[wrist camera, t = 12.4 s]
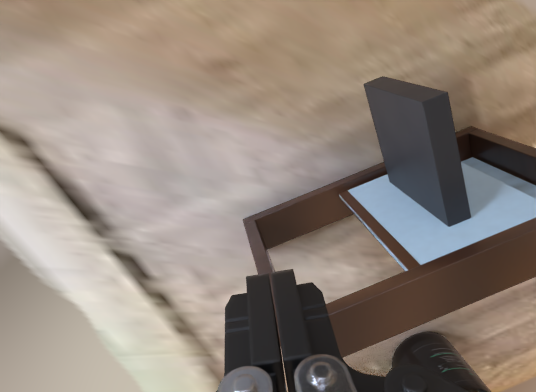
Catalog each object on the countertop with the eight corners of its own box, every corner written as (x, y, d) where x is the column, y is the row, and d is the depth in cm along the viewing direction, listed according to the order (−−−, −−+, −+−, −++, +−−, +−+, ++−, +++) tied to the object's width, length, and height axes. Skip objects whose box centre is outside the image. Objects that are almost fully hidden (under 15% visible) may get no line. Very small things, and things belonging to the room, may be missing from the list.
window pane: (340, 199, 38) (412, 279, 26) (308, 100, 34) (374, 139, 22) (442, 157, 38) (561, 217, 26) (421, 55, 35) (547, 69, 23)
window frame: (255, 248, 40) (294, 378, 25) (242, 219, 39) (276, 337, 24) (477, 158, 40) (643, 232, 26) (471, 126, 39) (643, 184, 24)
